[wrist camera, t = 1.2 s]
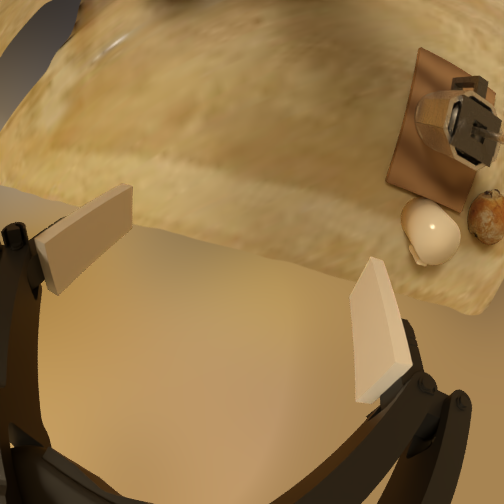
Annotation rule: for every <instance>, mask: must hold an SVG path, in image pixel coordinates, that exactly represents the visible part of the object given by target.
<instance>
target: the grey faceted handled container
mask: <svg viewBox="0 0 504 504" xmlns="http://www.w3.org/2000/svg"><path fill="white" fill-rule="evenodd" d="M487 87H488V81H486V80H485V79H483V78H482V77H481V76H468V77H456V78H453V79H452V85H451V90H446V91H437V92H433V93H429V94H427V95H425V96H423V97H422V98H421V99H420V100H419V102H418V104H417V106H416V109H415V114H414V121H415V127H416V130H417V132H418V135H419V136H420V138H421V139H422V141H423V142H424V143H425V145H426V146H428V147H430V148H431V149H433V150H435V151H438V152H441V153H443V154H445V155H447V156H449V157H451V158H453V159H455V160H457V161H459V162H461V163H463V164H464V165H466V166H468V167H470V168H472V169H474V170H475V171H477V170H479V169H481V168H483V167H485V166H488V167H490V164H491V163H492V162H494V161H495V160H496V158H497V155H498V151H499V148H500V144H501V143H499V142H496V141H493V140H490V139H487V138H484V137H481V141H480V142H478V141H477V140H475V139H474V138H472V137H470V134H471V130H472V126H473V122H474V120H475V121H476V122H478V123H479V124H481V125H482V126H484V129H485V130H489V131H492V132H495V133H499V134H502V135H503V132H502V129H501V122H502V120H500V119H499V118H498V117H497V114H496V111H495V108H494V106H493V105H492V104H491V103H489V102H488V101H487V100H485V99H486V93H487ZM463 88H474V90H473V91H471V90H463ZM457 103H459V107H458V112H457V116H456V120H455V124H454V128H453V132H452V135H451V136H450V134H449V131H448V125H449V121H450V117H451V113H452V108H453V106H454V105H456V104H457ZM455 147H456V148H458V149H459V150H461V151H463V152H465V153H466V154H468V155H470V156H472V157H469V156H466V155H464V154H462V153H461V152H459V151H458V150H457V149H456V148H455Z"/></svg>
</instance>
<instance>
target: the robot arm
mask: <svg viewBox="0 0 504 504" xmlns="http://www.w3.org/2000/svg"><path fill="white" fill-rule="evenodd" d="M132 193H133V186H131V185H127V184H123V183H122V184H120V185H118V186H116V187H115V188H113V189H111V190H109V191H107V192H106V193H104V194H102V195H100V196H99V197H97V198H95V199H94V200H92V201H90V202H89V203H87V204H85V205H84V206H82V207H80V208H79V209H77V210H76V211H74V212H72V213H71V214H69V215H68V216H65V217H63V218H61V219H59V220H58V221H56V222H55V223H54V224H52V225H50V226H49V227H48V228H46V229H44V230H43V231H41V232H40V233H39V234H37V235H36V236H34V237H33V238H32V239H30V240H28V236H27V231H26V226H25V224H24V223H22V222H15V223H11V224H9V225H8V226H6V227H5V228H4V229H3V230H2V231H1V233H2V237H3V241H4V245H1V242H0V504H153V503H148V502H143V501H139V500H134V499H130V498H126V497H123V496H122V495H120V494H119V493H118V492H116V491H115V490H114V489H113V488H112V487H110V486H109V485H108V484H107V483H105V482H104V481H103V480H102V479H101V478H100V477H98V476H96V475H95V474H93V473H91V472H90V471H88V470H86V469H85V468H83V467H81V466H80V465H78V464H77V463H75V462H73V461H72V460H70V459H68V458H67V457H65V456H63V455H62V454H60V453H59V452H57V451H56V450H54V449H52V448H51V444H50V439H49V436H48V434H47V431H46V430H45V428H44V426H43V423H42V419H41V411H40V401H39V388H38V363H37V362H38V360H37V359H38V357H37V356H38V351H37V350H38V327H39V313H40V303H41V294H42V286H41V283H42V282H43V281H44V280H45V282H46V285H47V288H48V290H49V291H51V292H53V293H54V294H56V295H58V296H59V294H61V293H62V291H64V290H65V289H66V288H67V287H68V286H69V285H70V284H71V283H72V282H73V281H74V280H75V279H76V278H77V277H78V276H79V275H80V274H81V273H82V272H83V271H85V270H86V269H87V268H88V267H89V266H90V265H91V264H92V263H93V262H94V261H95V260H96V259H97V258H99V257H100V256H101V255H102V254H103V253H104V252H106V251H107V250H108V249H109V248H110V247H111V246H112V245H113V244H115V243H116V242H117V241H118V240H119V239H121V238H122V237H123V236H124V235H125V234H126V233H128V232H129V231H130V230H131V229H132ZM349 300H350V310H351V321H352V332H353V347H354V362H355V363H354V365H355V398H356V399H355V401H356V402H361V403H369V404H372V403H373V402H374V401H376V400H377V399H378V398H379V397H380V404H381V405H380V406H379V407H377V408H376V409H375V410H374V411H372V412H371V413H370V414H369V415H368V416H366V417H367V419H366V421H365V422H364V423H363V424H362V425H361V426H360V427H359V428H358V429H357V430H356V431H355V432H354V433H353V434H352V435H351V436H350V437H349V438H348V439H347V440H346V441H345V442H344V443H343V444H342V445H341V446H340V447H339V448H338V449H337V450H336V451H335V452H334V453H333V454H332V455H331V456H330V457H328V458H327V459H326V460H325V461H324V462H323V463H322V464H321V465H319V466H318V467H317V468H316V469H315V470H314V471H313V472H311V473H310V474H309V475H308V476H306V477H305V478H304V479H303V480H301V481H300V482H299V483H297V484H296V485H295V486H294V487H292V488H291V489H290V490H289V491H287V492H285V493H284V494H283V495H281V496H280V497H279V498H277V499H276V500H274V501H273V502H271V503H270V504H361V503H362V502H363V501H364V500H365V499H366V498H367V497H368V496H369V494H370V493H371V492H372V491H373V490H374V488H375V487H376V486H377V485H378V484H379V482H381V480H382V479H383V478H384V477H385V475H386V474H387V473H388V472H389V470H390V469H391V468H392V466H393V465H394V464H395V462H396V461H397V460H398V462H397V464H396V466H395V469H394V471H393V473H392V475H391V478H390V479H389V481H388V484H387V486H386V488H385V490H384V491H383V493H382V496H381V497H380V499H379V501H378V503H377V504H451V501H452V498H453V495H454V492H455V489H456V486H457V482H458V479H459V475H460V471H461V467H462V463H463V459H464V454H465V450H466V445H467V439H468V433H469V427H470V419H471V412H472V404H471V401H470V398H469V397H468V395H467V394H466V393H465V392H464V391H462V390H455V391H454V392H453V393H452V394H451V395H449V396H448V395H446V394H444V393H442V392H440V391H438V390H437V385H436V382H435V380H434V379H433V378H432V377H431V376H430V375H429V374H427V373H425V372H424V370H423V365H422V361H421V357H420V353H419V349H418V347H417V346H418V345H417V341H416V340H415V334H414V330H413V328H412V327H411V325H410V323H409V322H408V320H405V319H402V318H401V316H400V312H399V309H398V305H397V302H396V298H395V295H394V292H393V289H392V285H391V282H390V279H389V276H388V273H387V270H386V267H385V265H384V262H383V260H380V259H377V258H374V257H372V256H370V258H369V260H368V262H367V264H366V266H365V268H364V270H363V272H362V274H361V275H360V277H359V279H358V281H357V283H356V285H355V287H354V288H353V290H352V292H351V294H350V296H349ZM10 443H12V444H13V446H14V448H10ZM398 458H399V459H398Z"/></svg>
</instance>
